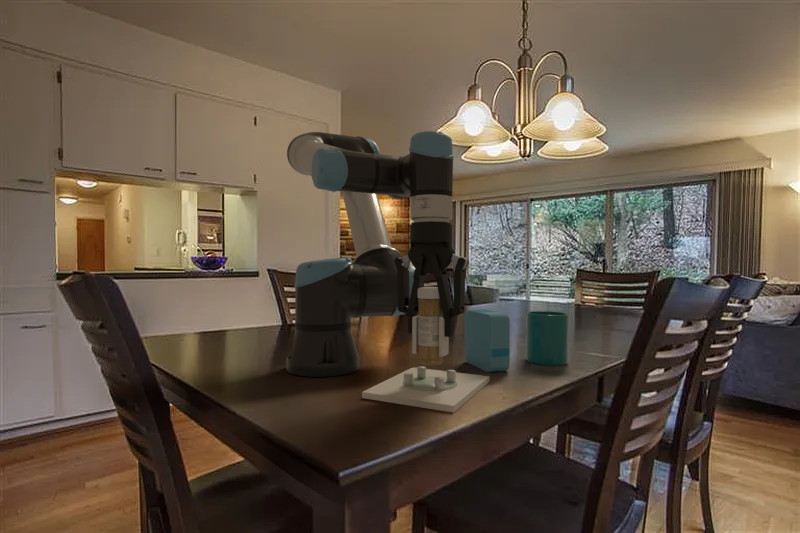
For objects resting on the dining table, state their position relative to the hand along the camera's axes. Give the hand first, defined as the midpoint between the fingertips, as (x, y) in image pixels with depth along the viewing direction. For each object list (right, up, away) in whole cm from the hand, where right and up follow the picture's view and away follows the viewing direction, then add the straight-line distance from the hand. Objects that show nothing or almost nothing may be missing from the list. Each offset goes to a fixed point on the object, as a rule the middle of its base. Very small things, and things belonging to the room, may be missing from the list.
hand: (430, 353), depth 80 cm
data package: (+13, -7, +18) cm, 23 cm away
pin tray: (0, -6, 0) cm, 6 cm away
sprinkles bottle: (0, -2, 0) cm, 2 cm away
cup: (+28, -7, +24) cm, 37 cm away
